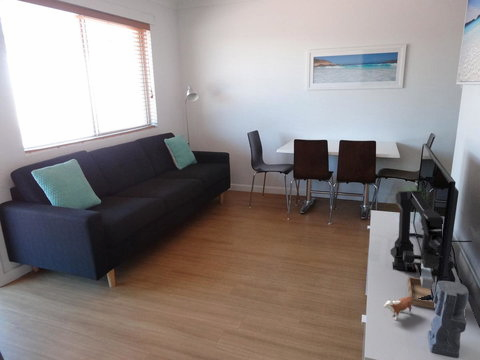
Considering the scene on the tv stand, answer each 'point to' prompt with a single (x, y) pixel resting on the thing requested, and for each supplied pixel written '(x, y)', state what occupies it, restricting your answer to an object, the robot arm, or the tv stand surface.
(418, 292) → the open brown box
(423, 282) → the long pale blue block
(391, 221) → the tv stand surface
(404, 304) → the bull figurine
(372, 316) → the tv stand surface
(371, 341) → the tv stand surface
